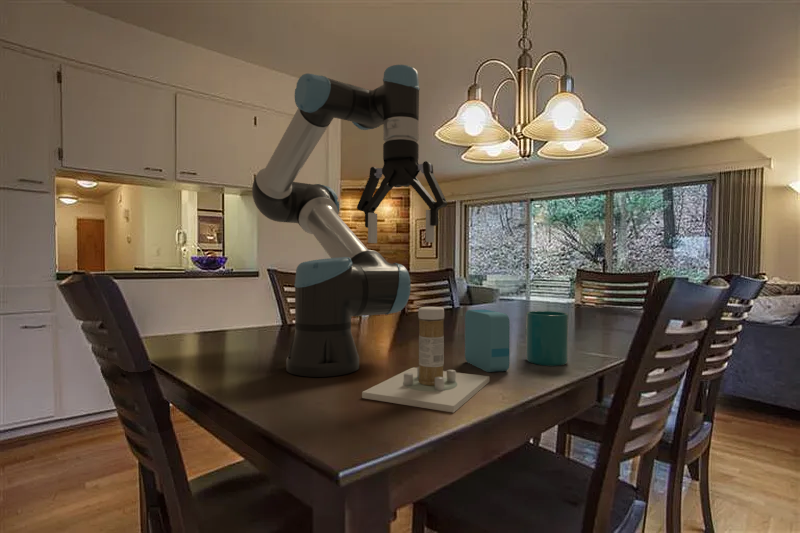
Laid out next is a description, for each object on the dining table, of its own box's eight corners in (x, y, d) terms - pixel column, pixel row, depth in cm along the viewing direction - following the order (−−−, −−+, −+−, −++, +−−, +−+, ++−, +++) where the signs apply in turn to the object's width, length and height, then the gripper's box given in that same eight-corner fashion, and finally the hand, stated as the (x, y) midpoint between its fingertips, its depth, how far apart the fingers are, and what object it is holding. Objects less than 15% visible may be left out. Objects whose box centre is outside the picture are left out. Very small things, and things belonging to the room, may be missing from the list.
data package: (509, 372, 93) (510, 314, 93) (490, 374, 92) (490, 315, 91) (482, 360, 104) (482, 308, 104) (464, 361, 103) (464, 309, 103)
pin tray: (362, 397, 75) (362, 379, 75) (412, 372, 92) (412, 357, 92) (453, 412, 67) (454, 392, 67) (489, 381, 85) (489, 365, 85)
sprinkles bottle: (437, 379, 83) (437, 305, 83) (448, 385, 79) (448, 308, 78) (414, 381, 81) (414, 306, 81) (424, 387, 77) (424, 309, 77)
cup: (542, 354, 111) (542, 309, 111) (576, 365, 100) (577, 314, 100) (511, 357, 108) (511, 310, 108) (542, 368, 97) (543, 315, 97)
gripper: (341, 144, 98) (341, 242, 98) (450, 130, 87) (449, 240, 87) (360, 152, 105) (359, 244, 105) (462, 139, 93) (462, 242, 94)
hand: (400, 242), depth 96 cm, fingers open, 13 cm apart
